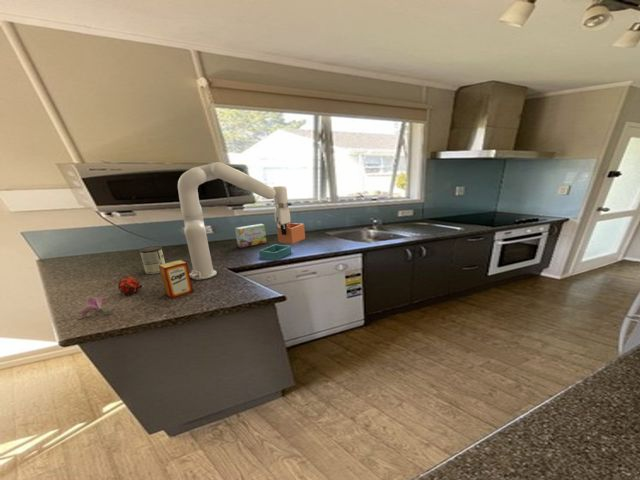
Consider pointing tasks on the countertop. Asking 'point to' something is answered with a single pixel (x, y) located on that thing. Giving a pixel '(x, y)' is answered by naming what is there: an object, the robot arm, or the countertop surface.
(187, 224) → the robot arm
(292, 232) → the upper bin
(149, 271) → the coffee can
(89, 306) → the lily
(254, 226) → the snack box
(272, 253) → the lower bin
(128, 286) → the dragon fruit
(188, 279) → the baking soda box
